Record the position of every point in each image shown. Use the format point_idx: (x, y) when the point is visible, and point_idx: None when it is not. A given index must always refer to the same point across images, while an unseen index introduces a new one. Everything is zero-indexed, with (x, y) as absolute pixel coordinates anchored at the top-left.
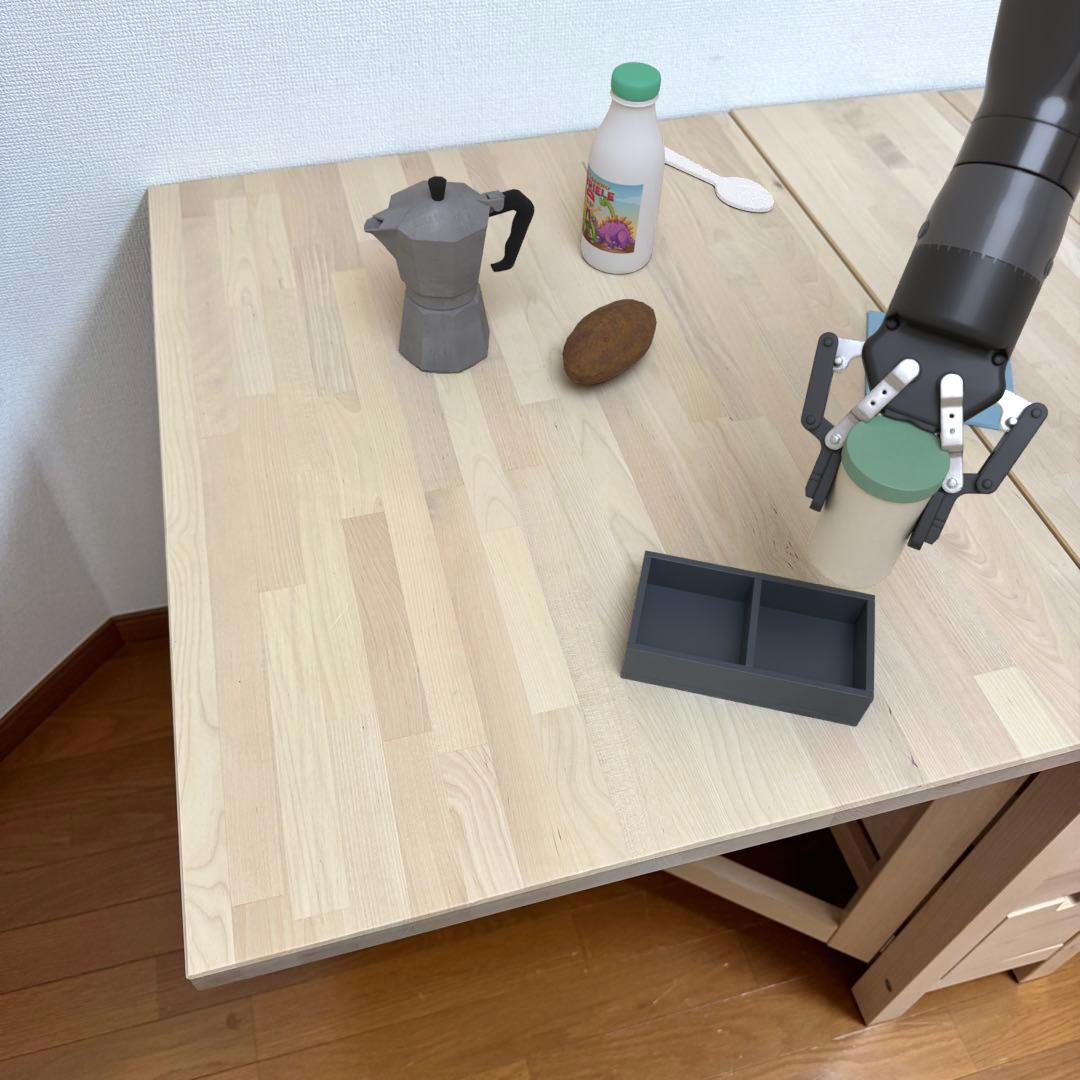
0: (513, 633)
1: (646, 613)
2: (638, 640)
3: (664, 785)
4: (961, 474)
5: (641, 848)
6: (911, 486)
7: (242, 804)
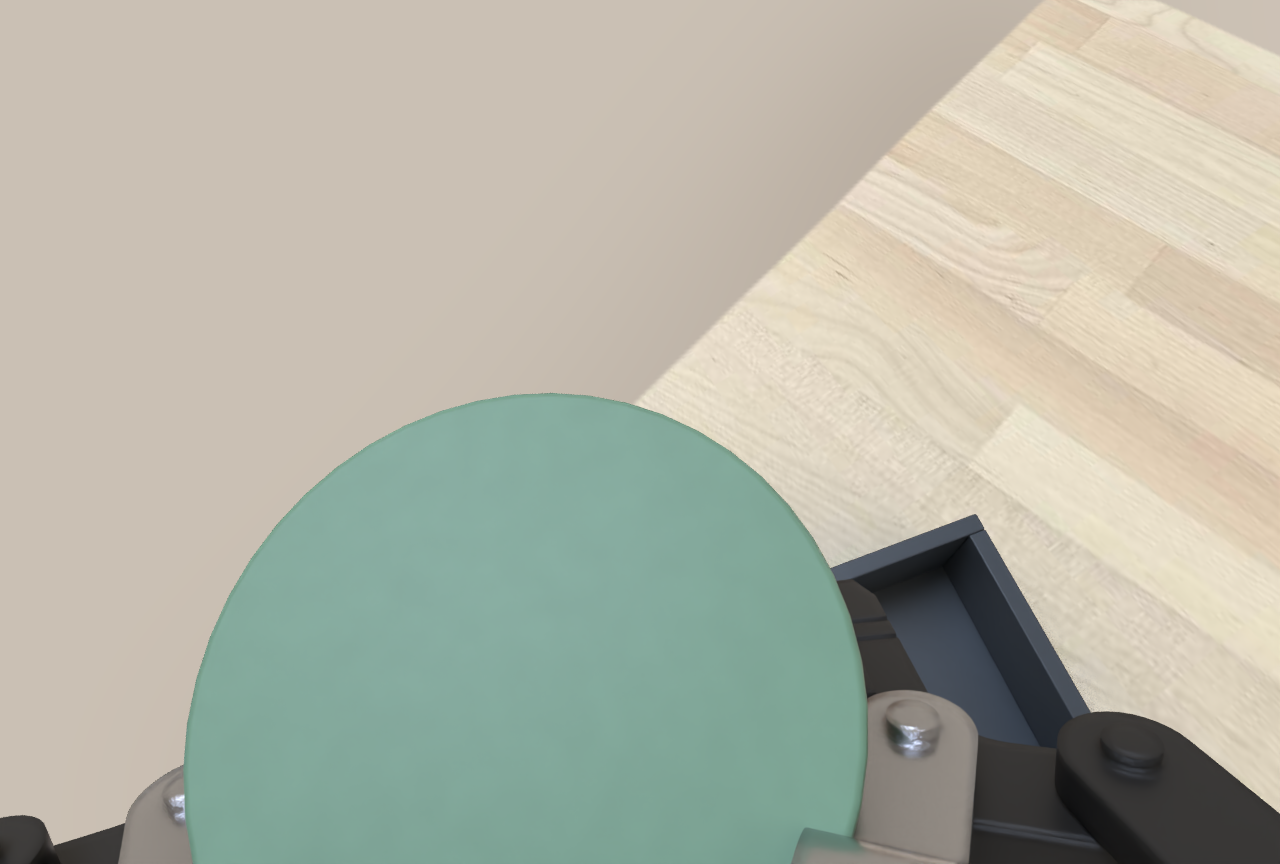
0: (1180, 520)
1: (1004, 707)
2: (971, 633)
3: (751, 420)
4: (131, 850)
5: (727, 321)
6: (379, 463)
7: (1227, 89)
